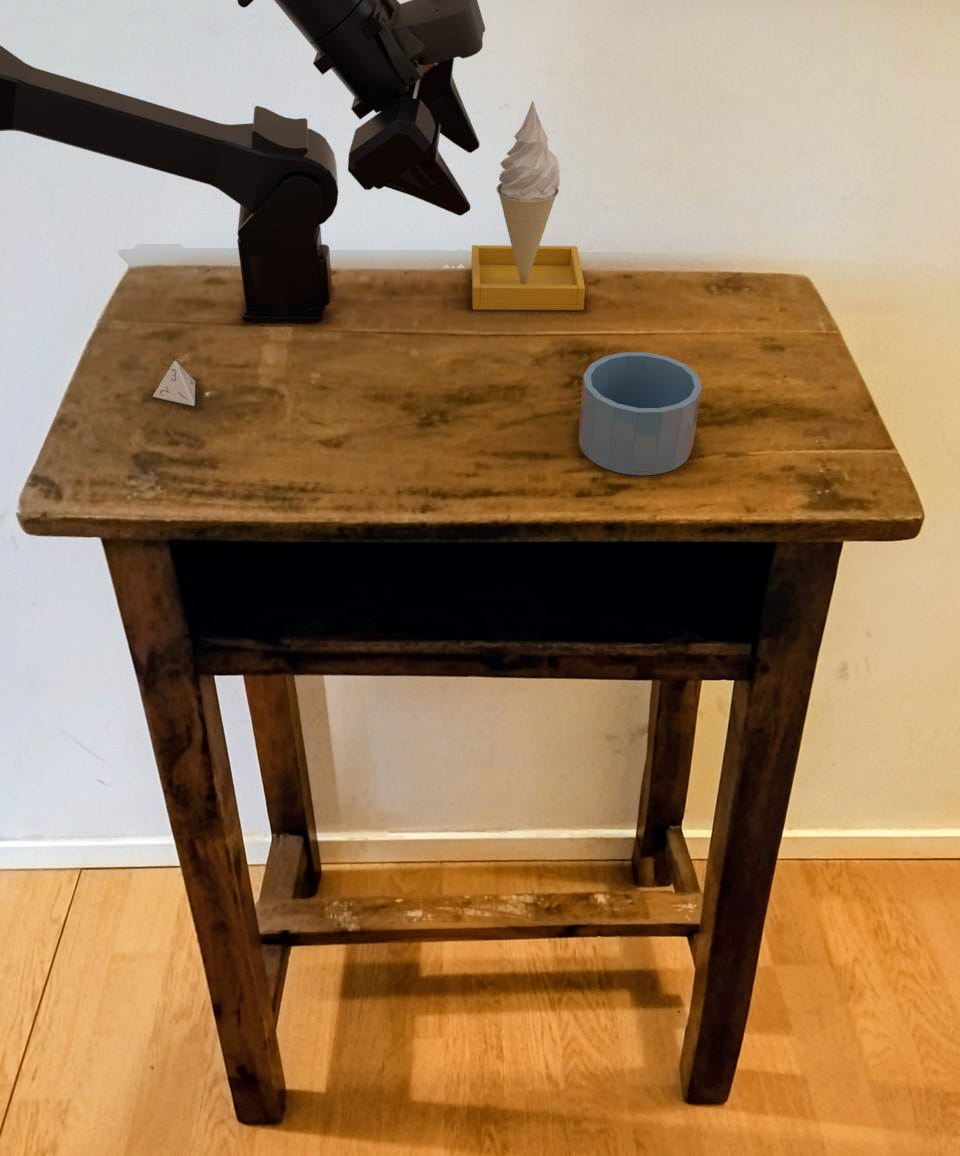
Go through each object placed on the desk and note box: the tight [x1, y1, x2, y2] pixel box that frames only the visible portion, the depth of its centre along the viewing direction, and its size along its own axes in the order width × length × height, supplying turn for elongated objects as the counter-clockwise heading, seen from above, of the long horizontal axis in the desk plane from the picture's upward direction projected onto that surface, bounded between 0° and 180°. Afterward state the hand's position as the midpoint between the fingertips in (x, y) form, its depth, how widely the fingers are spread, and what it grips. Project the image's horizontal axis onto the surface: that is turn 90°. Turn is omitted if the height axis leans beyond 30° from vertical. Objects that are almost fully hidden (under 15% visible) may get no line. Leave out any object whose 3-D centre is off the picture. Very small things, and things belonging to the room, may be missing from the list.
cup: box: [578, 351, 703, 476], centre depth 79 cm, size 8×8×5 cm
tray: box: [471, 244, 586, 311], centre depth 98 cm, size 9×8×2 cm
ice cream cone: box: [496, 99, 561, 284], centre depth 93 cm, size 5×5×15 cm
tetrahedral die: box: [152, 360, 196, 407], centre depth 84 cm, size 4×3×3 cm
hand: (470, 179), depth 91 cm, fingers open, 9 cm apart
